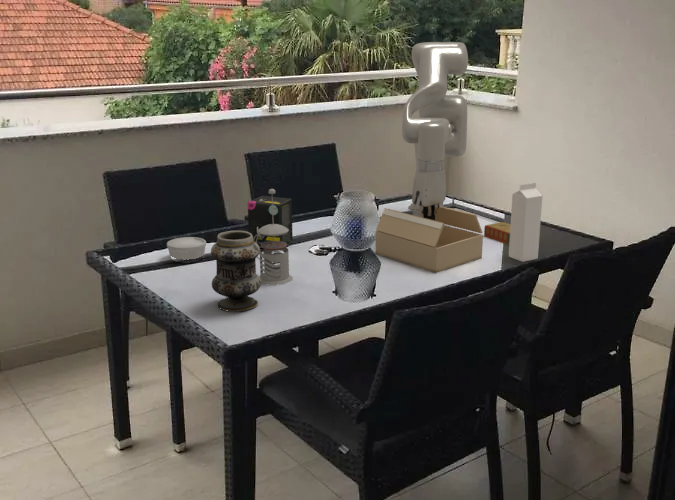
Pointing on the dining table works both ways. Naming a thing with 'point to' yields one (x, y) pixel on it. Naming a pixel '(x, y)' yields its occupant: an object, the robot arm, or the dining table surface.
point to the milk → (525, 223)
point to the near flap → (410, 227)
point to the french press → (274, 254)
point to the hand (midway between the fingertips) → (429, 227)
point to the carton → (498, 232)
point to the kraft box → (432, 249)
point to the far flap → (458, 219)
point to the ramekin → (186, 247)
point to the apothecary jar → (236, 270)
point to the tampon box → (270, 217)
